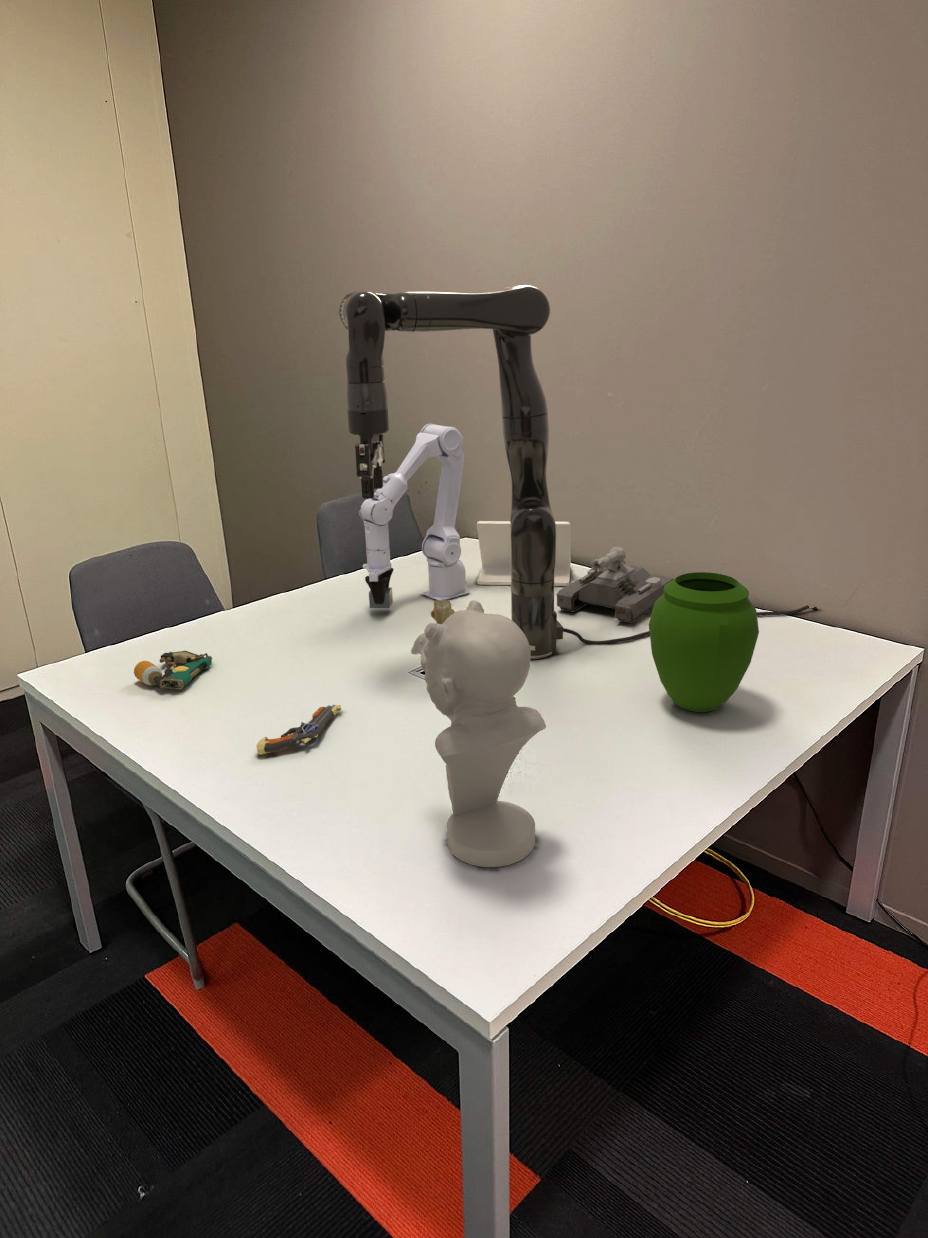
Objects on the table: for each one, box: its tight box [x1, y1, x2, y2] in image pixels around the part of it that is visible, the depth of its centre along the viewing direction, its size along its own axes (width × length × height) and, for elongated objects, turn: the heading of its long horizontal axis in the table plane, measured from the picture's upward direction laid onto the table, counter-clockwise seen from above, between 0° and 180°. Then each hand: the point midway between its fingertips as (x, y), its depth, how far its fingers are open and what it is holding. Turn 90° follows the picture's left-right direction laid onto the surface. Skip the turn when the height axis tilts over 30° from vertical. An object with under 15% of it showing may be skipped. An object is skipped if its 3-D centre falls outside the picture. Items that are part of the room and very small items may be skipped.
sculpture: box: [430, 599, 456, 624], centre depth 177 cm, size 6×7×15 cm
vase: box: [648, 571, 760, 713], centre depth 157 cm, size 20×20×24 cm
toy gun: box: [256, 704, 342, 756], centre depth 155 cm, size 3×19×10 cm
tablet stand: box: [476, 520, 572, 587], centre depth 236 cm, size 18×25×17 cm
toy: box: [556, 546, 675, 624], centre depth 212 cm, size 25×20×15 cm
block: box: [368, 586, 394, 609], centre depth 213 cm, size 4×5×4 cm
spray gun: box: [133, 650, 213, 690], centre depth 180 cm, size 4×17×15 cm
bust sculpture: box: [410, 599, 547, 868], centre depth 121 cm, size 16×24×35 cm
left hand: (381, 600), depth 213 cm, fingers closed on block, 4 cm apart
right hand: (373, 493), depth 164 cm, fingers open, 8 cm apart
